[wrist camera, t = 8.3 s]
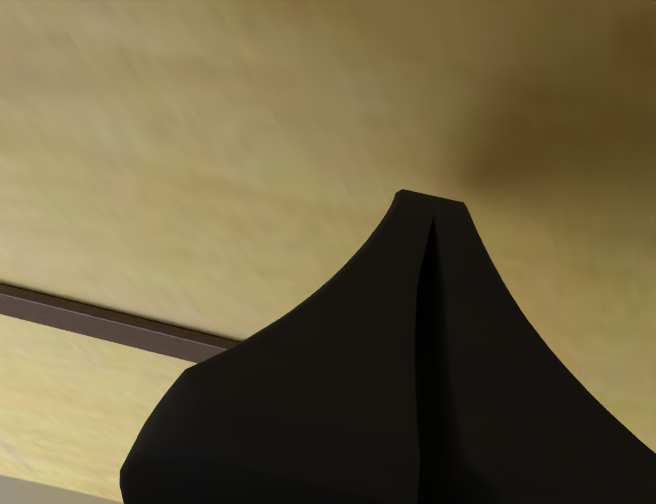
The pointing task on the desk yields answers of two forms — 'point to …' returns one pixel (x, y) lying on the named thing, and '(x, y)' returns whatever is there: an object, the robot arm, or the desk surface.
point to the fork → (110, 325)
